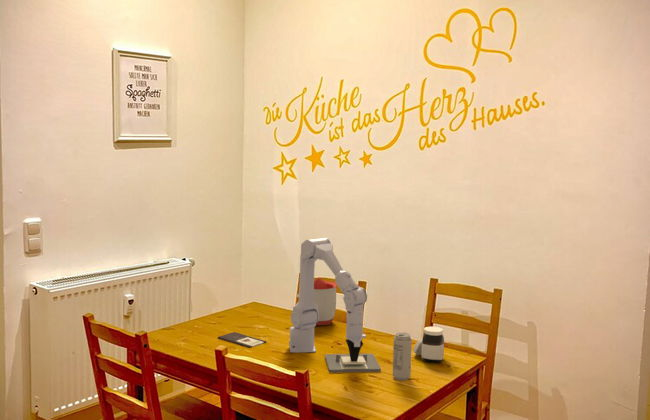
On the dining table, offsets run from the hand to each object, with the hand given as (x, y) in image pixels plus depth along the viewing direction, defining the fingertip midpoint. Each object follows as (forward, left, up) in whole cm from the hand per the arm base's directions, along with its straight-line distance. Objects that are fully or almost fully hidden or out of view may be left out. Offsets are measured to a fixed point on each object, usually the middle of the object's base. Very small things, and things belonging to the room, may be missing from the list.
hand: (353, 360), depth 231 cm
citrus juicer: (-9, +57, -3) cm, 58 cm away
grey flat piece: (0, +4, -3) cm, 5 cm away
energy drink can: (+15, -10, -3) cm, 18 cm away
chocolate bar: (-40, +33, -3) cm, 52 cm away
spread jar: (+29, +9, -3) cm, 31 cm away
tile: (0, +2, 0) cm, 2 cm away
